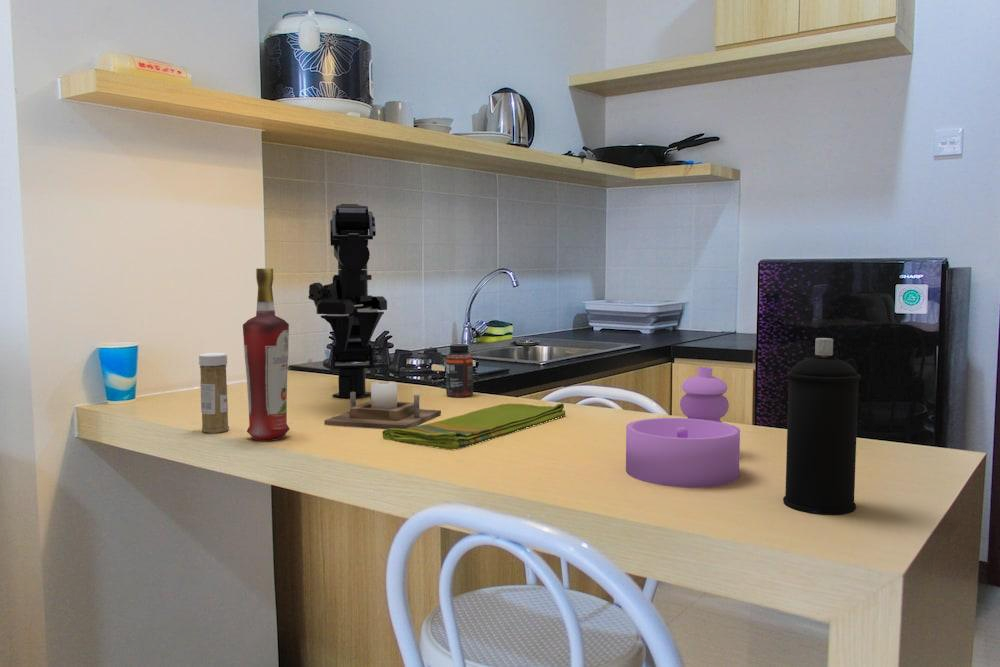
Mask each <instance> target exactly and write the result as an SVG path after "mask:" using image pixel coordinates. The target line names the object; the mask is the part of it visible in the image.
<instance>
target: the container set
mask: <svg viewBox="0 0 1000 667" xmlns="http://www.w3.org/2000/svg"><path fill="white" fill-rule="evenodd" d="M681 388H682V391H683V392H684V393H685V394H683V396H682V397H681V398H680V401H679V408H680V410H681V412H682V414H683V415H685V418H684V417H658V418H657V417H656V418H646V419H645V418H644V419H640V420H635V421H631V422H630V423H627V425H626V426H625V428H626V432H625V435H626V436H625V437H626V438H625V473H626V474H627V475H628V476H629V477H631V478H633V479H635V480H638V481H642V482H646V483H648V484H653V485H658V486H659V485H660V486H666V487H667V486H668V487H679V488H710V487H711V488H712V487H719V486H725V485H729V484H732V483H734V482H737V481H738V480H739V478H740V452H741V450H740V447H741V445H740V444H741V429H740V428H739V427H737V426H735V425H733V424H729V423H727V422H726V423H725V422H722V421H721V419H722V418H723V417H726V415H727V413H728V411H729V407H730V404H729V401H728V398H727V397H726V396H724V394H725V393H727V390H728V385H727V382H725V381H724V379H723V380H722V378H720V377H717V376H713V367H707V366H704V367H703V366H700V367H699V366H698V367H697V375H694V376H691V377H688V378H687V379H685V380H684V381H683V383H682V385H681ZM686 417H687V418H686Z"/></svg>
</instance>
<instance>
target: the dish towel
mask: <svg viewBox="0 0 1000 667" xmlns="http://www.w3.org/2000/svg"><path fill="white" fill-rule="evenodd" d="M564 404H565V403H558V404H556V405H553V406H552V405H545V406H544V405H541V406H539V405H534V404H525V403H505V404H504V403H501V404H497V405H494V406H489V407H485V408H482V409H478V410H474V411H473V410H472V411H470V412H468V413H464V414H461V415H457V416H453V417H448V418H446V419H443V420H438V421H433V422H430V423H429V422H428V423H426V424H419V425H417V426H414V427H410V428H405V429H394V428H390V429H383V430H382V432H381V433H382V438H383V440H386V441H392V442H397V441H399V443H403V442H406V443H405V444H409V443H411V444H410V445H416V444H418V445H417V446H422V445H425V446H424V447H428V446H433V447H432V448H435V447H439V448H438V449H441V448H445V449H444V450H448V449H457V450H459V449H458V448H460V449H462V447H464V448H467V447H466V446H468V447H470V446H469V445H471V446H473V445H472V444H474V445H477V444H476V443H478V444H480V443H479V442H481V443H483V442H482V441H484V442H486V441H485V440H487V441H489V440H488V439H491V440H493V439H492V438H494V439H496V438H495V437H497V438H500V437H499V436H501V437H504V436H507V435H510V434H509V433H511V434H513V433H512V432H514V433H516V432H515V431H517V430H521V429H524V428H526V427H530V426H533V425H537V424H540V423H543V424H545V423H544V422H546V421H549V420H552V419H555V418H558V417H561V416H564V415H565V416H566V410H565V409H564V408H565V405H564ZM565 416H564V417H565ZM561 418H562V417H561ZM558 419H559V418H558ZM540 425H541V424H540ZM537 426H538V425H537ZM530 428H531V427H530ZM524 430H525V429H524ZM521 431H522V430H521ZM517 432H518V431H517ZM506 434H507V435H506ZM503 435H504V436H503Z"/></svg>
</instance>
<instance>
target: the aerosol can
mask: <svg viewBox="0 0 1000 667" xmlns="http://www.w3.org/2000/svg"><path fill="white" fill-rule="evenodd" d="M814 342H815V344H814V345H815V347H814V355H812V356H811V357H808V358H804V359H803V360H800V361H798V362H797V363H796V364H794V365H793V366H792V367H791V370H788V371H787V372H786V376H787V377H788V390H787V391H788V392H787V393H788V394H787V422H786V423H787V427H786V430H787V433H786V459H785V461H786V463H785V494H784V496H783V498H782V501H783V503H784V505H786V506H787V507H789V508H791V509H794V510H795V511H796V510H797V511H799V512H804V513H810V514H819V515H844V514H849V513H852V512H854V511H855V510H856V509H857V505H856V503H855V490H856V489H855V487H856V485H855V484H856V483H855V482H856V463H857V462H856V458H857V454H856V453H857V432H858V430H857V428H858V402H859V381H860V380H861V379H862V375H861V374H859V373H857V371H856V369H855V368H854V367H853V366H852V365H851V364H850V363H849V362H846V361H845V360H842V359H839V358H837V357H836V356H835V355H834V338H831V337H829V338H828V337H816V338H815V339H814ZM833 355H834V356H833Z"/></svg>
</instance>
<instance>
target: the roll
mask: <svg viewBox="0 0 1000 667" xmlns="http://www.w3.org/2000/svg"><path fill="white" fill-rule="evenodd" d="M370 392H371V394H370V401H371V408H378V409H395V408H397V402H398V382H396V381H391V380H389V381H388V380H387V381H385V380H384V381H383V380H382V381H373V382H371V383H370Z"/></svg>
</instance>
